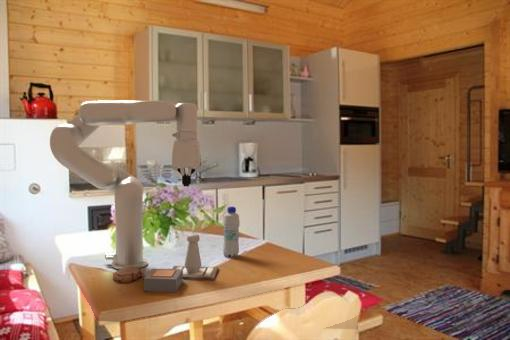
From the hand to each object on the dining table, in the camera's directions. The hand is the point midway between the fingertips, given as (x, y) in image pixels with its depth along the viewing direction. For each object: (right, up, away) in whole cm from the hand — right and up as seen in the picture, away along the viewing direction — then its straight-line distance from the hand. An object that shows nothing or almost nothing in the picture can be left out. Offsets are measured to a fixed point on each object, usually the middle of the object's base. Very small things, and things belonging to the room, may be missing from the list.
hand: (186, 186), depth 162 cm
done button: (-3, -30, -24) cm, 38 cm away
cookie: (-17, -31, -16) cm, 39 cm away
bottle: (+16, -29, +13) cm, 35 cm away
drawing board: (+4, -30, -11) cm, 32 cm away
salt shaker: (+4, -29, -11) cm, 32 cm away
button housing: (-3, -31, -24) cm, 39 cm away
